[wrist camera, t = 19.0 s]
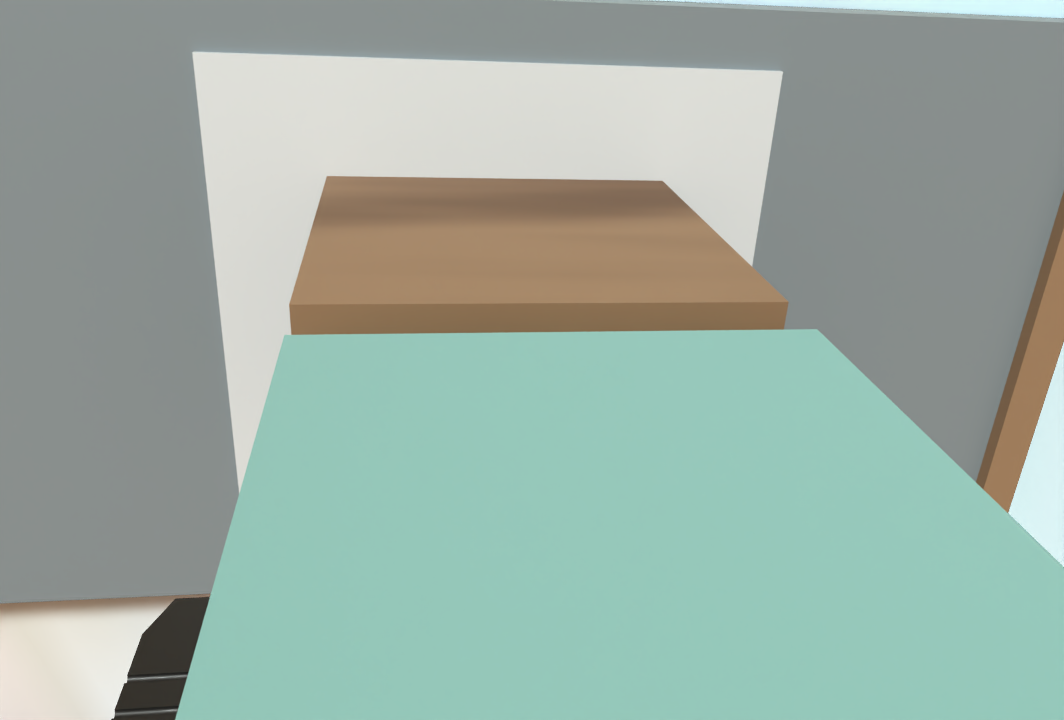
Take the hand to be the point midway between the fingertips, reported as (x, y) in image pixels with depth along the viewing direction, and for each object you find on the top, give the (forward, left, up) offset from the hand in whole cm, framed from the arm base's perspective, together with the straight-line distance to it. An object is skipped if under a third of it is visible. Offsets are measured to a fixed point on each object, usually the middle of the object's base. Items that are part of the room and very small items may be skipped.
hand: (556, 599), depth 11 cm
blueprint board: (0, 0, -9) cm, 9 cm away
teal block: (0, 0, -1) cm, 1 cm away
